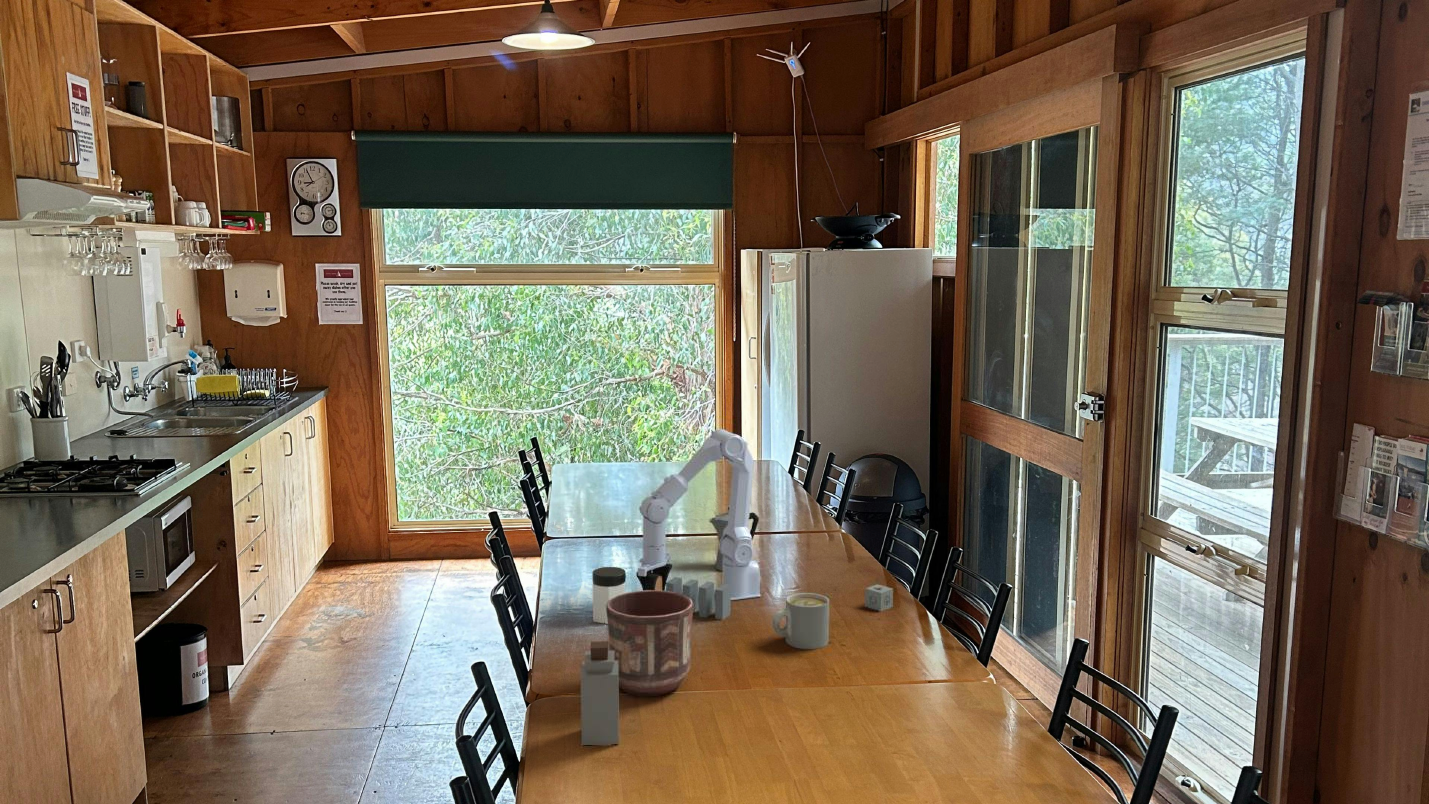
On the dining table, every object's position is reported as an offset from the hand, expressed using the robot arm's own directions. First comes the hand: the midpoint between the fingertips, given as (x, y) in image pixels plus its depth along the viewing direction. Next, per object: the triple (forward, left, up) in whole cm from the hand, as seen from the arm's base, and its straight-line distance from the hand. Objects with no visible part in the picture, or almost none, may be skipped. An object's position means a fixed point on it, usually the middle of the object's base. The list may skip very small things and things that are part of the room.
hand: (654, 595), depth 265 cm
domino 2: (-4, +4, -3) cm, 6 cm away
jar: (+13, +5, -3) cm, 14 cm away
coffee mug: (-24, +36, -3) cm, 43 cm away
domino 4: (-10, +10, -3) cm, 15 cm away
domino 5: (-13, +13, -3) cm, 19 cm away
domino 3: (-7, +7, -3) cm, 10 cm away
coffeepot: (-32, -23, -3) cm, 39 cm away
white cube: (-53, +22, -3) cm, 57 cm away
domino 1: (0, 0, -3) cm, 3 cm away
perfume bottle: (+32, +66, -3) cm, 73 cm away
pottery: (+16, +47, -3) cm, 50 cm away
